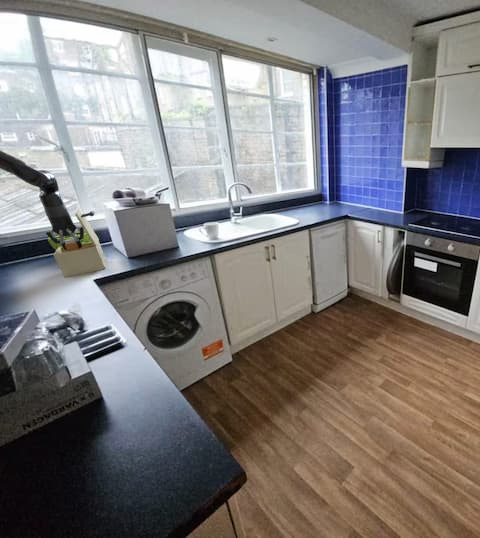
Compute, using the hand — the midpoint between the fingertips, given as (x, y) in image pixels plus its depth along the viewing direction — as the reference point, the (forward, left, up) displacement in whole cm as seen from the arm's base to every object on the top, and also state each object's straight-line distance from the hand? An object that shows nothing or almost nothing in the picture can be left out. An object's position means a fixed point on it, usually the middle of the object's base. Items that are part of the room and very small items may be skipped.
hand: (73, 248), depth 145 cm
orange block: (0, 0, -4) cm, 4 cm away
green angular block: (-5, +30, -11) cm, 32 cm away
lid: (+8, 0, +9) cm, 12 cm away
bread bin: (+1, 0, -11) cm, 11 cm away
